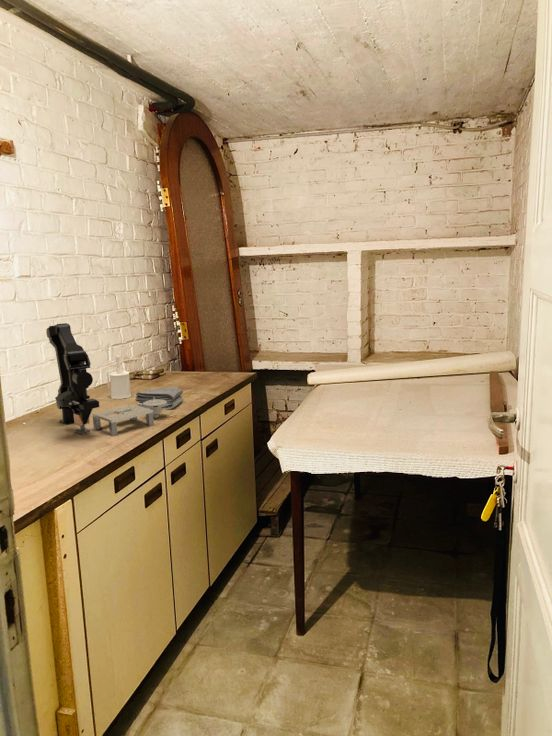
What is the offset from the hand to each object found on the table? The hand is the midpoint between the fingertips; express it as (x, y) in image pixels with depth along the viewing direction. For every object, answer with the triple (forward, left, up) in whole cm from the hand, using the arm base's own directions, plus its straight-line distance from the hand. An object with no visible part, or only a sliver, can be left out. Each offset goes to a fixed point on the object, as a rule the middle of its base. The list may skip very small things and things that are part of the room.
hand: (82, 423), depth 214 cm
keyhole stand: (+6, +14, -4) cm, 16 cm away
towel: (-11, +42, -4) cm, 43 cm away
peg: (0, 0, -4) cm, 4 cm away
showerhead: (+4, +30, -4) cm, 30 cm away
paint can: (-39, +39, -4) cm, 55 cm away
